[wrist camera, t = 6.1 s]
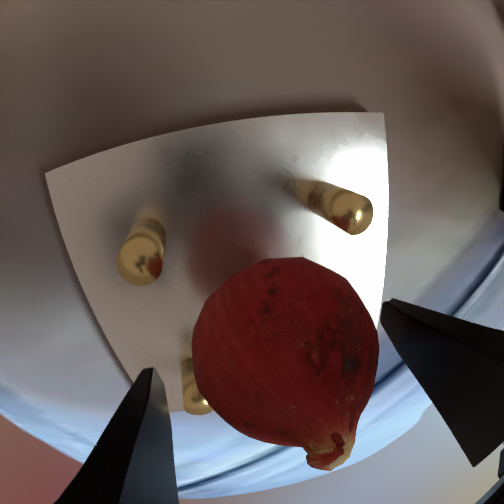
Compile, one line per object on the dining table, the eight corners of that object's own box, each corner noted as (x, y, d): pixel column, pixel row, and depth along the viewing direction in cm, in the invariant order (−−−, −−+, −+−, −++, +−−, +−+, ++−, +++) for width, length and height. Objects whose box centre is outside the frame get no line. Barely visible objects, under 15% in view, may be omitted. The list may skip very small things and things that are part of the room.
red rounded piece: (220, 204, 10) (333, 359, 3) (337, 255, 12) (471, 368, 5) (167, 328, 11) (184, 510, 4) (277, 354, 14) (348, 487, 6)
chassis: (370, 113, 11) (423, 112, 8) (364, 343, 17) (393, 377, 14) (55, 169, 9) (10, 184, 6) (155, 402, 14) (156, 448, 11)
